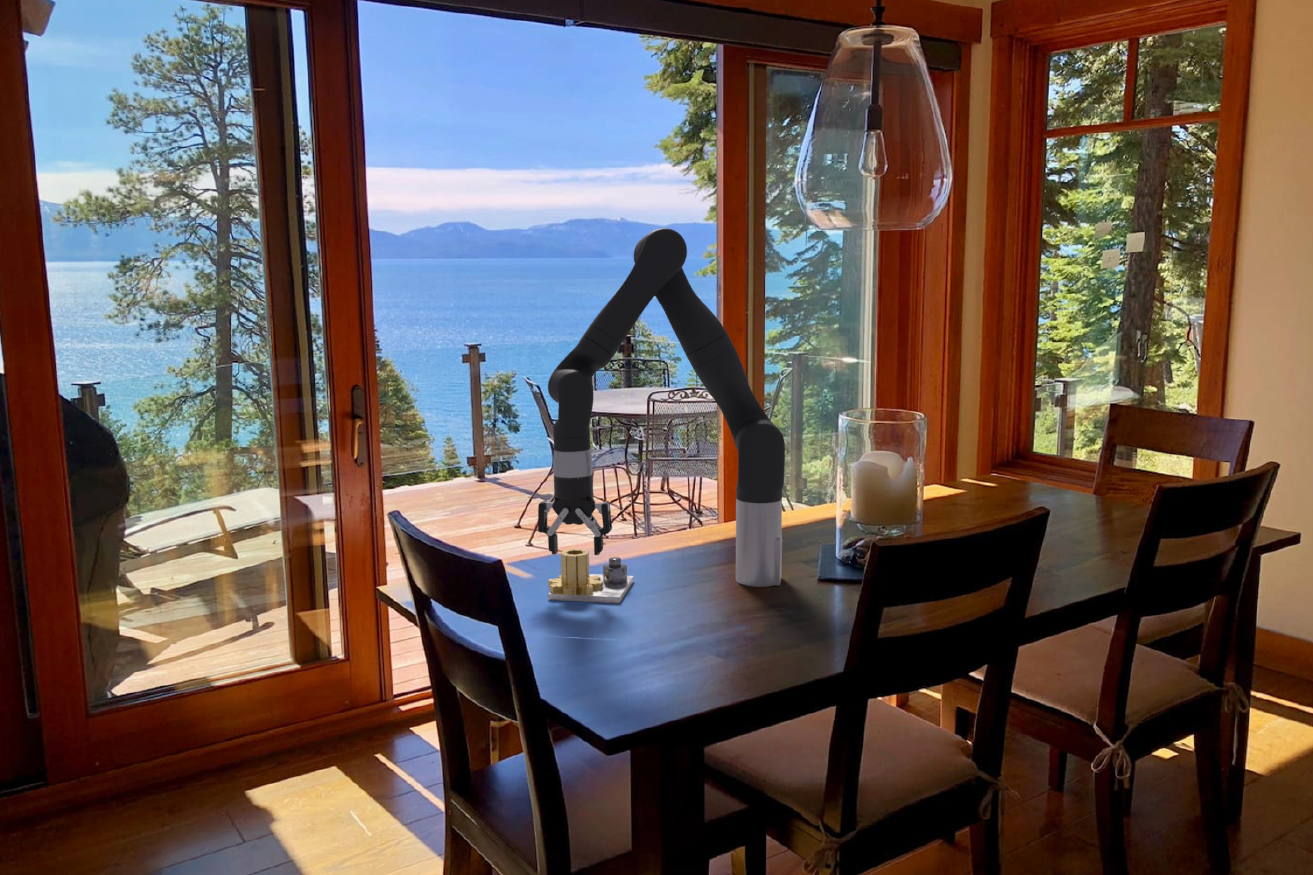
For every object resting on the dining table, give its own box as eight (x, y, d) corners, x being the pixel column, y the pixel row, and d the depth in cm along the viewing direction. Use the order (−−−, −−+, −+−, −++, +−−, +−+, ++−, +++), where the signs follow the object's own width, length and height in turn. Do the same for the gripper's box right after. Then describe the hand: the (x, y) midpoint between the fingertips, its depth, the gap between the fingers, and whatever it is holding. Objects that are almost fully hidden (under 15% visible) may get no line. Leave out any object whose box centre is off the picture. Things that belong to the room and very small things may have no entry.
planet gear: (608, 580, 194) (607, 546, 193) (595, 596, 184) (595, 561, 183) (556, 577, 196) (555, 544, 195) (541, 594, 186) (540, 558, 185)
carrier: (633, 581, 197) (633, 554, 196) (619, 603, 184) (619, 573, 183) (567, 578, 200) (566, 551, 199) (548, 599, 186) (547, 570, 185)
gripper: (613, 469, 189) (615, 549, 191) (542, 468, 191) (545, 548, 194) (605, 476, 181) (607, 560, 184) (531, 475, 184) (535, 558, 186)
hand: (575, 553), depth 189 cm, fingers open, 8 cm apart
